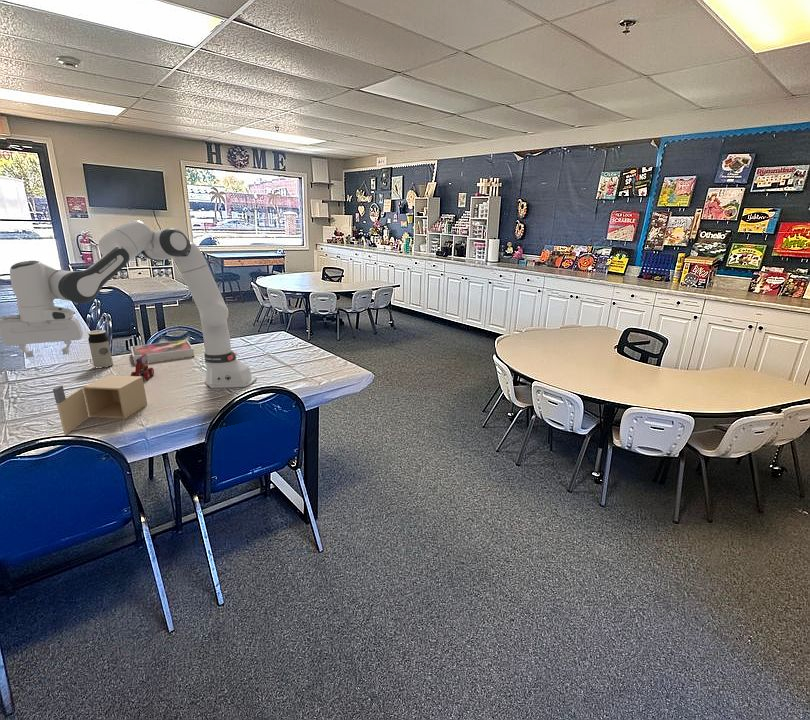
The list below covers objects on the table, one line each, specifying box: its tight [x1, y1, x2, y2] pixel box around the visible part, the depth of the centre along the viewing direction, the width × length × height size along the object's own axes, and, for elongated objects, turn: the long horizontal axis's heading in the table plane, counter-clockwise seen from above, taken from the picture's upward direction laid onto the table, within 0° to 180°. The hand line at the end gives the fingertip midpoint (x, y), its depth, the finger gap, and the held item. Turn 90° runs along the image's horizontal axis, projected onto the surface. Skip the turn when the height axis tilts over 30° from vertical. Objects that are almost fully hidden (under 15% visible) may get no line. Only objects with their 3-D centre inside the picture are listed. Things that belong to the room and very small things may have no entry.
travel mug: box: [87, 329, 114, 368], centre depth 211 cm, size 8×8×18 cm
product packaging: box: [130, 339, 195, 364], centre depth 232 cm, size 22×28×5 cm
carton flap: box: [52, 385, 90, 436], centre depth 149 cm, size 14×1×17 cm, turn 9°
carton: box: [82, 374, 148, 419], centre depth 163 cm, size 14×13×12 cm
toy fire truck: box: [130, 354, 155, 381], centre depth 198 cm, size 7×12×10 cm, turn 11°
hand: (48, 355), depth 138 cm, fingers open, 8 cm apart
